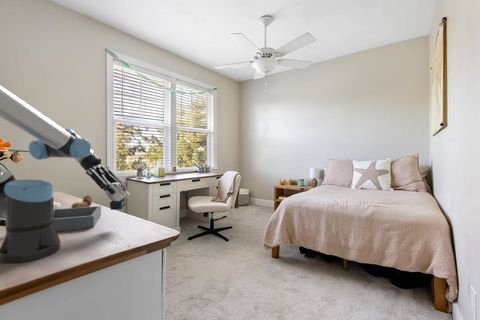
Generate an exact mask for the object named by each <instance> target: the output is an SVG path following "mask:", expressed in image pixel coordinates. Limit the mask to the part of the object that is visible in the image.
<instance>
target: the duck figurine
mask: <svg viewBox="0 0 480 320" xmlns="http://www.w3.org/2000/svg"><path fill="white" fill-rule="evenodd" d="M54 197H55V195H54V196H53V198H54ZM53 209H62V204H61V203H59V202H55V201H53Z"/></svg>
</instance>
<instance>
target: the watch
mask: <svg viewBox="0 0 480 320" xmlns="http://www.w3.org/2000/svg"><path fill="white" fill-rule="evenodd" d="M110 185H111V186H114V185H116V186H117V189H118V190H119V192H120V193H122V194H123V195H124V197H125V196H126V193H127V191H128V189H127V187H126V185H125V184H124V183H123V182H122V183H119V182H114V183H112V184H111V183H110ZM105 193H106V195H107V197H108V199H109V200H110V202H109V207H110V211H111V210H112V211H113V210H122V209H123V208H124V207H125V205H126V199H125V198H124V197H122V198H121V199H120V200H119V201H117V200H116V199H115V198H114V197H113V196H112V195H111V193H110V192H109V191H108V190H106V191H105Z"/></svg>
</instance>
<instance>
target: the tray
mask: <svg viewBox="0 0 480 320" xmlns="http://www.w3.org/2000/svg"><path fill="white" fill-rule="evenodd" d="M53 212H54V228H55V230H56V232H60V231H70V230H81V229H92V228H95V226H96V224H97V223H98V221H99V220H100V218H101V216H102V206H101V205H97V206H95V205H94V206H89V207H79V208H71V207H67V208H65V207H64V208H61V209H53Z"/></svg>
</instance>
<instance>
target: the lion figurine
mask: <svg viewBox="0 0 480 320" xmlns="http://www.w3.org/2000/svg"><path fill="white" fill-rule="evenodd" d="M92 200H93V199H92V196H91V195H89V194H88V195H87V194H86V195H84V196H83V199H82V201H81V202H77V201H76V202H74V203H72V204H71V207H70V208H79V207H91V205H92V204H93V203H92Z"/></svg>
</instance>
